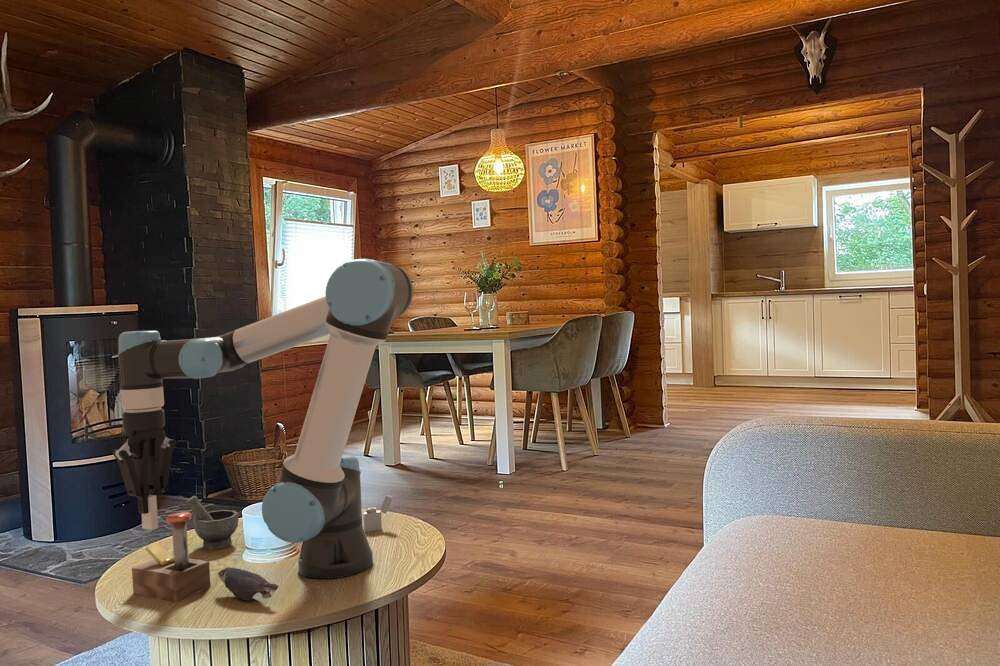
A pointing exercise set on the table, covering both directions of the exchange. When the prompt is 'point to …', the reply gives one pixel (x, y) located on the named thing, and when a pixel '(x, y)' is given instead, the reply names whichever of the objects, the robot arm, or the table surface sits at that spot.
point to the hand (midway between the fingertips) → (150, 528)
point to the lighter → (375, 516)
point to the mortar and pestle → (213, 524)
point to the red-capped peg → (180, 539)
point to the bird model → (246, 583)
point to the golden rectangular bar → (160, 554)
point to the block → (170, 580)
